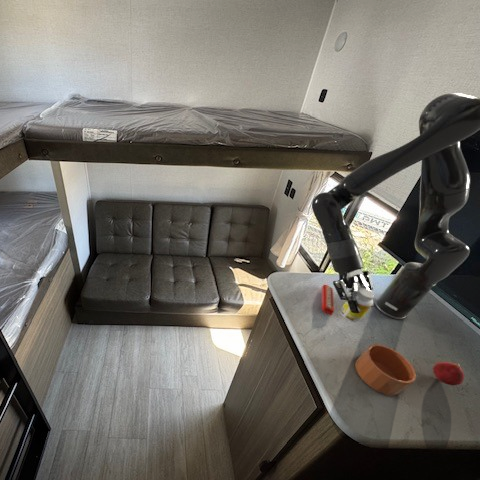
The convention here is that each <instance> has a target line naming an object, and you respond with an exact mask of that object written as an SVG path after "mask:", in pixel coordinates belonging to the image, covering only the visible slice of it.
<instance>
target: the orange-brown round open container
mask: <svg viewBox="0 0 480 480" xmlns="http://www.w3.org/2000/svg"><path fill="white" fill-rule="evenodd" d="M354 365H355V370H356V373H357V374H358V376H359V377H360V378H361V380H362V381H363V382H364V383H365V384H366V385H368V386H369V387H370V388H372V389H374V391H376V392H378V393H380V394H383V395H386V396H396V395H398V394H400V393H401V392H402V391H404V390H405V389H406V388H408V387H409V386H410V385H411V384H412V383H414V382H415V380H416V379H417V375H416V370H415V369H414V367H413V365H412V364H411V363H410V362H409V360H408V359H407V358H406V357H405V356H403V355H402V354H401V353H399V352H398V351H396V350H394V349H393V348H391V347H388V346H387V345H383V344H378V343H377V344H375V343H374V344H369V346H368V347H367V348H366V350H364V352H363V353H362V354H360V356H359V357H358V358H357V360H355V364H354Z"/></svg>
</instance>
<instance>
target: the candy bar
mask: <svg viewBox="0 0 480 480" xmlns="http://www.w3.org/2000/svg"><path fill="white" fill-rule="evenodd" d="M334 303H335V302H334V289H333V287H331V286H329V285H327V284H322V286H321V310H322V311H323V312H325V314H328V315H329V316H332V315H333V313H334V311H335V304H334Z"/></svg>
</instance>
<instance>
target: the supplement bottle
mask: <svg viewBox="0 0 480 480" xmlns="http://www.w3.org/2000/svg"><path fill="white" fill-rule="evenodd" d="M350 296H351V294H350ZM374 298H375V294H374V292H372V291H370V290H368V289H365V288H359V289H357V293H356V300H357V303H358V306H359V309H360V313H352V312H351V310H350V308H349V305H348V302H347V301H346V300H345V302H344V303H343V305H342V307H341V308H340V314H341V316H342V317H343V318H344V319H346V320H347V321H350V322H352V323H353V322H354V323H358V322H360V321H361V320H362V319H363V317H365V315H366V314H367V313H368V312H369V310H370V309H371V308H372V307H371V306H372V305H374V300H373V299H374Z"/></svg>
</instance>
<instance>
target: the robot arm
mask: <svg viewBox="0 0 480 480" xmlns="http://www.w3.org/2000/svg"><path fill="white" fill-rule="evenodd" d="M418 131H419V135H418V136H417V137H415V138H413V139H411V140H410V141H409V142H406V143H404V144H402V145H401V146H399V147H396V148H395V149H392V150H390V151H388V152H384V153H383V154H380V155H378V156H375V157H373V158H371V159H369V160H368V161H366V162H364V163H363V164H361V165H359V166H358V167H357V168H355V169H354V170H353V171H351V172H350V173H348V174H347V175H345V176H344V177H343V178H342V179H341V180H340V182H339V183H338V184H337V185H335V186H334V187H333V188H331V189H330V190H328V191H324V192H320V193H318V194H317V195H315V196H314V197H313V199H312V200H311V201H312V202H311V209H312V212H313V215H314V217H315V219H316V220H317V223H318V225H319V227H320V228H321V231H322V235H323V239H324V241H325V244H326V249H327V253H328V256H329V259H330V262H331V265H332V269H333V271H334V272H335V273H337V274H338V279H337V280H333V281H332V285H333V287H334V289H335V291H336V293H337V295H338V297H339V299H340V300H341V301H345V302H346V301H347V302H348V305H349V308H350V310H351V312H352V313H360V309H359V306H358V303H357V300H356V293H357V290H358V289H359V288H365V289H368V290H370V291H371V292H372V291H375V287H374V286H375V285H374V281H373V278H372V277H373V276H372V273H371V271H370V270H362V269H364V267H365V264H364V262H363V258H362V256H361V253H360V250H359V248H358V245H357V243H356V241H355V239H354V236H353V233H352V230H351V227H350V225H349V223H348V222H347V221H346V220H345V217H344V215H343V212H342V210H343V209H344V208H346V207H347V206H348V205H349V204H351V203H352V202H354V201H355V200H356V199H357V198H359V197H361V196H363V195H364V194H366V193H368V192H369V191H371V190H373V189H374V188H376V187H377V186H378V185H380V184H382V183H383V182H385V181H387V180H388V179H389V178H392V177H393V176H395V175H396V174H398V173H400V172H402V171H403V170H406V169H407V168H410V167H411V166H413V165H415V164H417V163H419V162H421V165H420V166H421V167H420V183H419V184H420V185H419V215H418V216H419V217H418V225H417V230H416V235H415V239H414V248H415V251H417V252H418V254H420V255H421V256H422V257H423V258H424V259H426V261H424V263H422V262H417V261H409V262H407V263H405V264H404V265H403V267H402V268H401V269H400V270H399V272H398V273H397V274H396V276H395V277H394V278H393V279H392V280H391V282H390V283H389V284H388V285H387V287H386V288H385V289H384V290H383V292H382V293H381V294H380V296H379V297H378V298H377V299H376V300H375V301H374V304H373V305H372V306H371V307H370V308H373V307H374V305H375V307H376V309H377V310H378V311H379V312H380V313H382V314H383V315H385V316H387V317H389V318H391V319H395V320H404V319H405V318H406V317H407V316H408V315H409V314H410V313H411V312H412V310H413V309H415V307H416V306H417V305H418V304H419V303H420V302H421V301H422V300H423V299H424V297H425V296H426V295H427V294H428V293H429V292H430V291H431V290H432V289H433V288H434V287H435V286H436V285H437V284H438V283H439V282H440V281H442V280H444V279H446V278H447V277H448V276H450V274H452V273H453V272H454V271H455V270H456V269H457V268H458V267H460V266H461V265H462V264H463V263H464V262H465V261H466V260H467V258H468V257H469V255H470V253H471V249H470V247H469V246H468V245H467V244H466V243H464V242H463V241H461V240H460V239H459V238H456V237H455V236H453V235H452V234H451V233H450V231H449V222H450V218H451V217H452V216H453V215H455V214H456V213H457V212H459V211H460V210H461V209H462V208H463V207H464V206H465V205H466V203H468V200H469V196H470V195H469V194H470V189H471V188H470V187H471V174H470V171H469V168H468V165H467V162H466V159H465V157H464V154H463V152H462V147H461V141H464V140H465V139H467V138H469V137H471V136H472V135H474V134H475V133H477V132H478V131H480V97H477V96H472V95H468V94H464V93H458V92H457V93H456V92H455V93H454V92H452V93H444V94H442V95H438V96H437V97H435V98H433V99H432V100H431V101H430V102H428V103H427V104H426V105H425V107H424V108H423V109H422V112H421V113H420V116H419V120H418ZM350 295H351V296H350Z"/></svg>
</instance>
